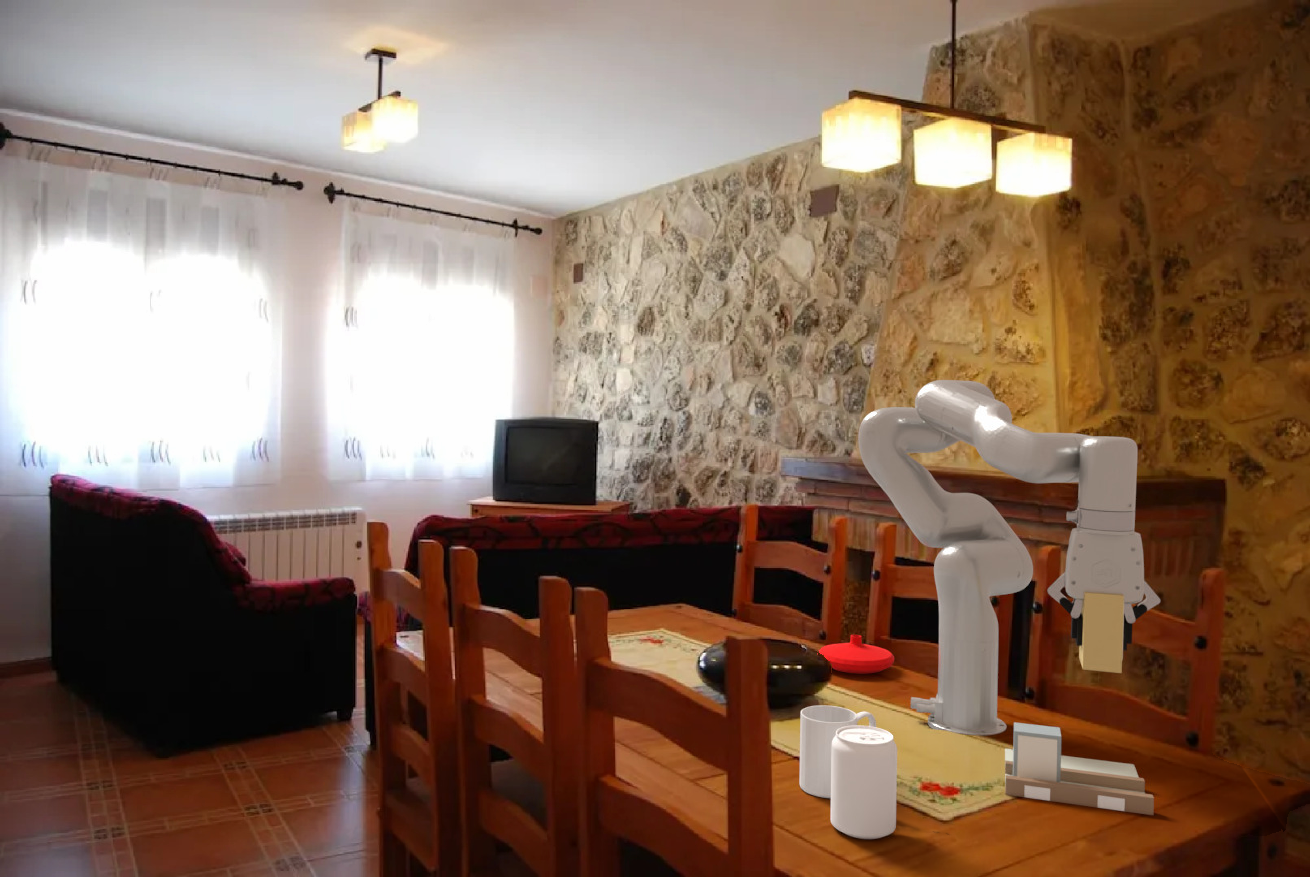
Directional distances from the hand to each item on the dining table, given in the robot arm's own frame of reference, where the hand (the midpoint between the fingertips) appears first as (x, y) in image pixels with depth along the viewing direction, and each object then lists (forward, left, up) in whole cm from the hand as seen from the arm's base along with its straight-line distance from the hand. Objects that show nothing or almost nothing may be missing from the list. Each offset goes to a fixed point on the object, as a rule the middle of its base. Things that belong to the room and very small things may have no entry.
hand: (1100, 644), depth 137 cm
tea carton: (0, 0, -3) cm, 3 cm away
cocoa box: (-9, -10, -19) cm, 23 cm away
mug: (-35, -17, -20) cm, 43 cm away
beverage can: (-30, -30, -20) cm, 47 cm away
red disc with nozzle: (-42, +47, -20) cm, 66 cm away
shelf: (-4, -4, -20) cm, 20 cm away
